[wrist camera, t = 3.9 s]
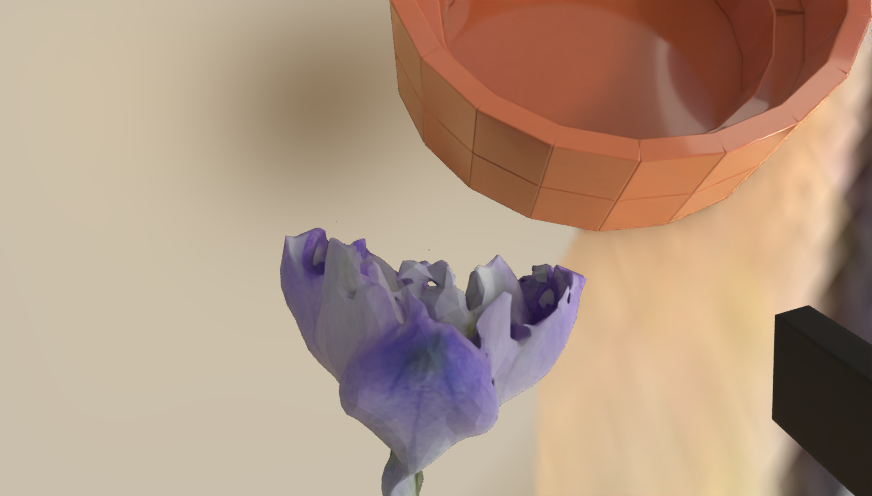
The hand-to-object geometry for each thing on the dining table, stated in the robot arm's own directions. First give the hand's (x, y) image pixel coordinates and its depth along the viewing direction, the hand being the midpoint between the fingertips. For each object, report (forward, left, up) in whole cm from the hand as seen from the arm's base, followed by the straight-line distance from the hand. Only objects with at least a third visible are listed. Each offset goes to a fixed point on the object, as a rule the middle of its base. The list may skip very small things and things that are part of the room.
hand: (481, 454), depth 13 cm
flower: (-1, +3, -9) cm, 10 cm away
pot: (+7, +16, -9) cm, 20 cm away
